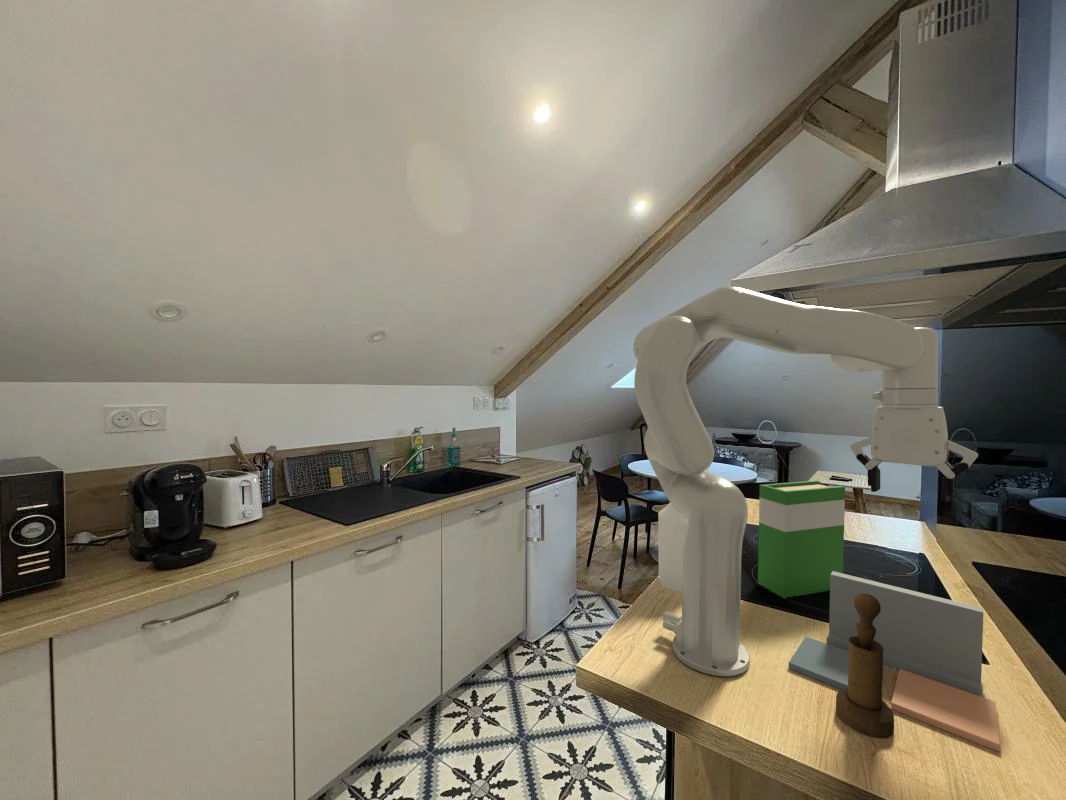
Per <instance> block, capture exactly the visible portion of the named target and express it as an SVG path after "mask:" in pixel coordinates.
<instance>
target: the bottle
mask: <svg viewBox="0 0 1066 800" xmlns="http://www.w3.org/2000/svg"><path fill="white" fill-rule="evenodd" d="M657 513H658V514H657V515H658V517H657V518H658V523H657V524H658V525H657V526H658V527H657V528H658V529H657V530H658V581H659V583H660V584H661V585H663V586H664V587H665V588H668V590H669V589H670V590H672V591H675V592H681V593H682V581H683V544H684V539H685V535H686V531H687V526H688V519H687V518H686V517H685V516H684V515H682V514H681V513H680V512H678V511H677V510H676V509H675V508H674V507H673V506H672V504H671V503H670V502H669V503H668V504H667V505H666V506H665V507H663V508H662V509H661V510H659V512H657ZM659 576H660V577H659Z"/></svg>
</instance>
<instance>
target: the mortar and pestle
mask: <svg viewBox="0 0 1066 800" xmlns="http://www.w3.org/2000/svg"><path fill="white" fill-rule="evenodd" d="M854 606H855V608H856V610H857V612H858V614H859V616H860V622H859V623H857V624H856V628H857V632H858V636H853V637H850V638H849V665H848V688H847V689H844V690H842V689H840V690H838V692H837V693H836V696H835V697H836V699H835V713H836V715H837V716H838V718H839V719H840V720H841V721H842V722H843V723H844V724H845V725H847V726H848V727H849V728H851V729H853V730H855V732H858V733H860V734H862V735H864V736H865V735H866V736H868V737H872V738H876V739H877V738H878V739H885V738H890V737H891V736H893V734H894V733H895V714H894V712H893V710H892V709H891V707H890V706H889V705H887V703H886V702H885V701H884V700H883V671H884V670H883V667H884V665H883V646H882V645H881V644H880V643H878V642H877V641H875V640H873V639H874V637H875V634H876V628H875V627H874V626H873V620H874V619H875V618H876V617H877V615H878V614H879V613H880V610H881V607H880V603H879V601H878V600H877V599H876V598H875V597H874V596H872V595H869V594H858V595H857V596H856V597H855V599H854Z"/></svg>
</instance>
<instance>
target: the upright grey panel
mask: <svg viewBox="0 0 1066 800" xmlns="http://www.w3.org/2000/svg"><path fill="white" fill-rule="evenodd" d="M858 594H869V595H872V596H874V597H875V598H876V599H877V600H878V601H879V603H880V607H881V610H880V613H879V614H878V615H877V617H876V618H875V619H874V620H873V626H874V627H875V628H876V634H875V637H874V639H873V640H875V641H877V642H878V643H880V644H881V645H882V646H883V666H887V667H888V668H889V667H890V668H893V669H895V670H898V671H899V669H902V670H905V671H908V672H911V673H914V674H917V675H920V676H923V677H925V678H928V679H931V680H934V681H937V682H940V683H943V684H946V685H949V686H952V687H954V688H957V689H960V690H963V691H966V692H969V693H972V694H975V695H978V696H981V697H982V672H983V671H982V667H983V641H984V640H983V639H984V607H982V606H981V607H980V606H977V605H973V604H969V603H964V602H960V601H957V600H953V599H947V598H944V597H939V596H937V595H932V594H927V593H923V592H919V591H915V590H911V589H906V588H903V587H899V586H896V585H895V586H894V585H891V584H886V583H882V582H878V581H875V580H871V579H868V578H867V579H866V578H863V577H858V576H854V575H850V574H846V573H844V572H843V573H839V572H834V571H832V573H831V574H830V590H829V618H828V619H829V621H828V628H829V629H828V634H827V635H826V643H827V644H829V645H832V646H835V647H838V648H841V649H844V650H847V651H849V638H850V637H853V636H858V632H857V628H856V624H857V623H859V622H860V616H859V614H858V612H857V610H856V608H855V606H854V599H855V597H856V596H857V595H858Z"/></svg>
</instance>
